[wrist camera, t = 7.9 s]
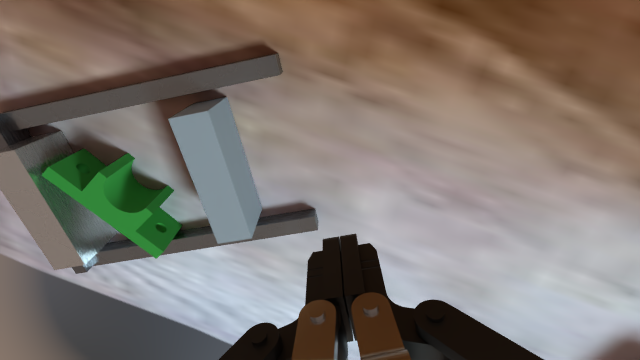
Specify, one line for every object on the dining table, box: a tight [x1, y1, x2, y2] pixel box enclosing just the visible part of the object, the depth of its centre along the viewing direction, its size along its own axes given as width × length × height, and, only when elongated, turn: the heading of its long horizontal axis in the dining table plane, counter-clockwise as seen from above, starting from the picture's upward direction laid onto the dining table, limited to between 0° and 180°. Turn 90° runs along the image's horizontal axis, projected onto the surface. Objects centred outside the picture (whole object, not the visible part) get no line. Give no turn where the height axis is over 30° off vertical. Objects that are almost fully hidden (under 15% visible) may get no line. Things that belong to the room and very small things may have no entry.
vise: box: [0, 53, 318, 274], centre depth 29 cm, size 16×25×5 cm, turn 101°
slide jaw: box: [168, 97, 262, 244], centre depth 28 cm, size 11×3×5 cm, turn 11°
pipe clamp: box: [42, 149, 182, 258], centre depth 30 cm, size 11×4×5 cm, turn 43°
